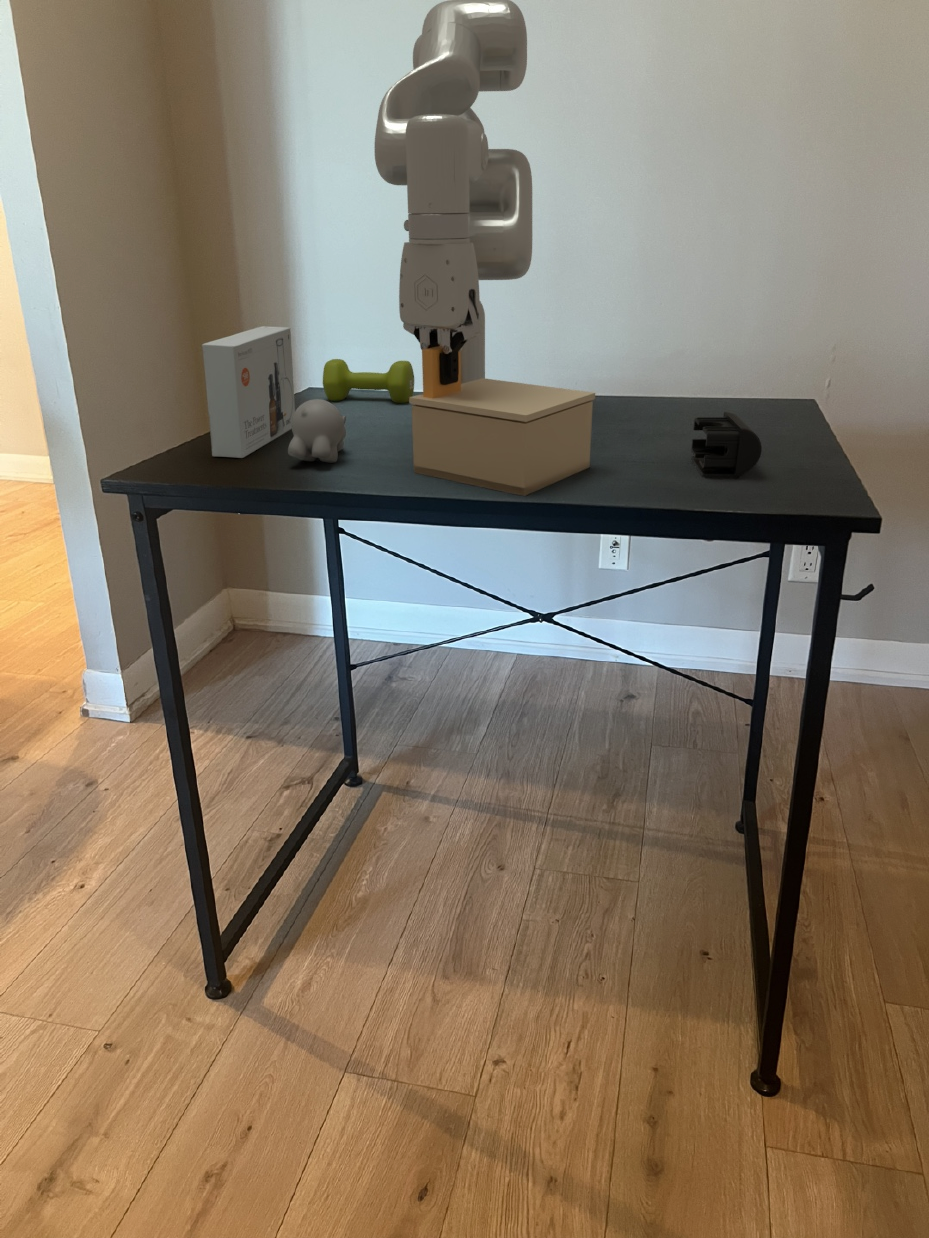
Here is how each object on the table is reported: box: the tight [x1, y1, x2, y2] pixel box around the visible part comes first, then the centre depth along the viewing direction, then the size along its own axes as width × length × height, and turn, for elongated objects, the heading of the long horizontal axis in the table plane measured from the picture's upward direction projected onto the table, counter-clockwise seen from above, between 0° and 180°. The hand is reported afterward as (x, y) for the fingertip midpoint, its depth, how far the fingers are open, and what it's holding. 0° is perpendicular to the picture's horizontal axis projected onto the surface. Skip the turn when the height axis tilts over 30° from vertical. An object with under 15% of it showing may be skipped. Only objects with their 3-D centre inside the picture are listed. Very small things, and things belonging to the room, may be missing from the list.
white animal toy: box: [287, 398, 347, 464], centre depth 126 cm, size 7×12×8 cm, turn 162°
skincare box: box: [201, 325, 296, 459], centre depth 133 cm, size 21×5×16 cm, turn 168°
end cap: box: [690, 411, 763, 479], centre depth 119 cm, size 10×7×7 cm
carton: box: [411, 400, 594, 497], centre depth 119 cm, size 16×18×9 cm
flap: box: [408, 346, 596, 422], centre depth 115 cm, size 16×18×7 cm
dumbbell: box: [322, 358, 415, 404], centre depth 162 cm, size 16×8×7 cm, turn 78°
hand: (442, 381), depth 117 cm, fingers closed on flap
